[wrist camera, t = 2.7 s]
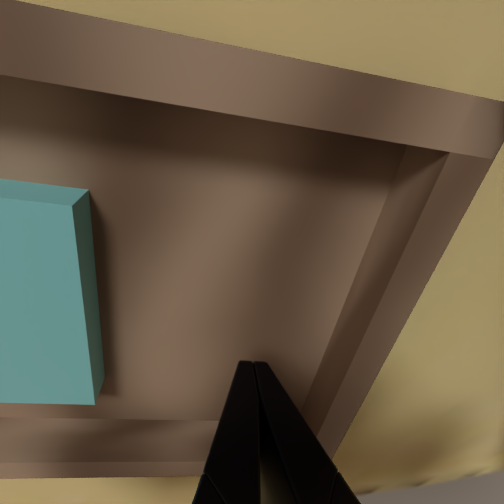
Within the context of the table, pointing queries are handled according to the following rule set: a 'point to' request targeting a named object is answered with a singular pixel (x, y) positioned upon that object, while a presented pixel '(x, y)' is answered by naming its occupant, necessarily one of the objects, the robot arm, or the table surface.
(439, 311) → the table surface
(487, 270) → the table surface
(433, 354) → the table surface
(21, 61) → the brown flat tray
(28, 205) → the cover plate
